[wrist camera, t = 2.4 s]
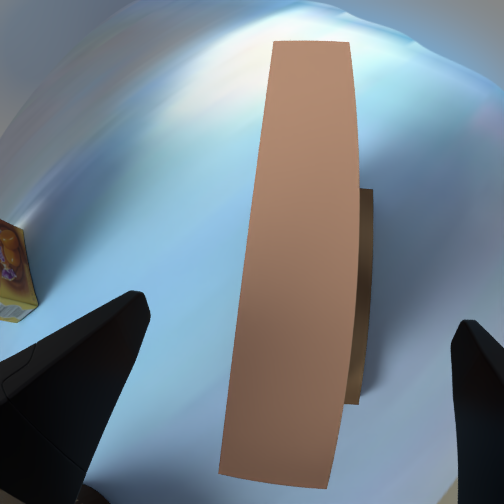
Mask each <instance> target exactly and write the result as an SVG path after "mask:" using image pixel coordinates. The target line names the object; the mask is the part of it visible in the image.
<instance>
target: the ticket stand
mask: <svg viewBox="0 0 504 504" xmlns="http://www.w3.org/2000/svg"><path fill="white" fill-rule="evenodd" d="M359 190H360V213H359V254H358V275H357V291H356V305H355V317H354V327H353V337H352V347H351V355H350V364H349V371H348V379H347V386H346V393H345V399H344V404H354V405H359V399H360V392H361V386H362V379H363V371H364V363H365V355H366V346H367V337H368V326H369V315H370V301H371V285H372V263H373V189H362V188H359Z"/></svg>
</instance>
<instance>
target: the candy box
mask: <svg viewBox="0 0 504 504" xmlns="http://www.w3.org/2000/svg"><path fill="white" fill-rule="evenodd" d="M37 306H38V302H37V298H36V295H35V292H34V288H33V283H32V279H31V275H30V270H29V265H28V260H27V254H26V249H25V243H24V235H23V230H22V229H20V228H18V227H16V226H14V225H11V224H9V223H7V222H5V221H3V220H1V219H0V320H2V321H8V322H13V323H18V322H19V321H20V320H21V319H23V318H24V317H25V316H26V315H27V314H29V313H30V312H31V311H32V310H33V309H35V308H36V307H37Z"/></svg>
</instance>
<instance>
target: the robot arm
mask: <svg viewBox="0 0 504 504" xmlns="http://www.w3.org/2000/svg"><path fill="white" fill-rule="evenodd" d="M150 318H151V314H150V310H149V307H148V304H147V300H146V297H145V295H144V293H143V292H140V291H134V290H131V291H128V292H126V293H124V294H123V295H121V296H119V297H117V298H115V299H113V300H112V301H110V302H108V303H106V304H104V305H103V306H101V307H99V308H97V309H95V310H93V311H92V312H90V313H88V314H86V315H84V316H83V317H81V318H79V319H77V320H75V321H74V322H72V323H70V324H68V325H66V326H65V327H63V328H61V329H59V330H58V331H56V332H54V333H52V334H51V335H49V336H47V337H45V338H43V339H42V340H40V341H38V342H37V344H36V343H35V344H33V345H31V346H29V347H28V348H26V349H24V350H22V351H20V352H19V353H17V354H15V355H13V356H11V357H9V358H7V359H5V360H3V361H1V362H0V504H75V502H76V499H77V496H78V494H79V491H80V489H81V486H82V484H83V481H84V478H85V476H86V472H87V471H88V468H89V466H90V463H91V461H92V458H93V456H94V453H95V451H96V449H97V446H98V444H99V441H100V439H101V437H102V434H103V432H104V430H105V427H106V425H107V423H108V421H109V418H110V416H111V414H112V412H113V409H114V407H115V405H116V403H117V400H118V398H119V396H120V394H121V392H122V389H123V387H124V385H125V383H126V381H127V379H128V376H129V374H130V372H131V370H132V368H133V366H134V363H135V361H136V358H137V356H138V353H139V350H140V347H141V344H142V341H143V339H144V336H145V333H146V330H147V327H148V325H149V322H150ZM451 363H452V387H453V402H454V412H455V422H456V435H457V452H458V504H504V348H503V347H502V346H501V345H500V344H499V343H498V342H497V341H496V340H495V339H494V338H493V337H492V336H491V335H490V334H489V333H488V332H487V331H486V330H485V329H484V328H483V327H482V326H481V325H480V324H479V323H478V322H477V321H475V320H462V321H461V322H460V324H459V326H458V329H457V331H456V333H455V335H454V337H453V339H452V342H451Z"/></svg>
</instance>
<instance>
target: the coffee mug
mask: <svg viewBox="0 0 504 504" xmlns="http://www.w3.org/2000/svg"><path fill="white" fill-rule="evenodd" d="M75 504H110V503H109V501H108V500H107V499H106V498H104V497H103V496H102V495H101V494H100V493H99V492H97V491H96V490H94V489H93V488H91V487H89V486H87V485H84V484H82V486H81V489H80V491H79V494H78V496H77V499H76V502H75Z"/></svg>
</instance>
